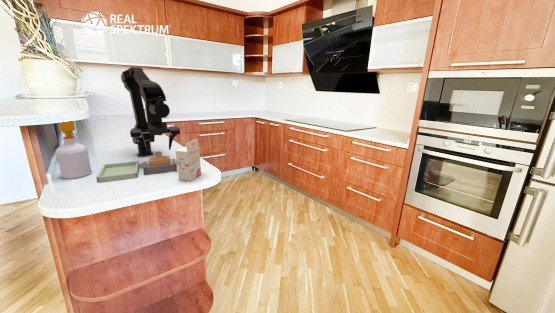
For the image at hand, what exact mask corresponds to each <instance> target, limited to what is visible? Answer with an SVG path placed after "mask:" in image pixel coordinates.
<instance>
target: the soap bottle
mask: <svg viewBox="0 0 555 313" xmlns="http://www.w3.org/2000/svg"><path fill="white" fill-rule="evenodd" d="M58 125H59V129H58V130H59V132H60V133H62V134H64V136H63V137H62V138H63V139H62V140H63V144H61V145H59V146H58V148H56V150H55V154H56V159H57V163H58V166H59V170H60V175H61V178H63V179H67V180H68V179H69V180H73V179H80V178H84V177H86V176H89V175H90V174H92V171H93V170H92V166H91V162H90V158H89V151H88V148H87V147H86V145H83V144H81V143H78V142H77V140H76V137H75V136H74V135H72V133H73V131H76V127H75V123H74V120H73V121H69V122H62V123H59V122H58Z"/></svg>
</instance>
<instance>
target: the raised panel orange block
mask: <svg viewBox="0 0 555 313" xmlns="http://www.w3.org/2000/svg"><path fill="white" fill-rule="evenodd" d="M171 162H172V161H171V156H170V155H163V151H162V150H161V151H155V152H154V156H151V157H148V161H147V163H148V166H157V165H167V164H172V163H171Z"/></svg>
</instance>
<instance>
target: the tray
mask: <svg viewBox="0 0 555 313" xmlns="http://www.w3.org/2000/svg"><path fill="white" fill-rule="evenodd" d="M139 169H140V162H139V160H136V161H135V160H134V161H125V162H116V163H115V162H114V163H106V164H105V163H104V164H103V165H102V166H101V168H100V170H99V172H98V174H97V176H96V183H98V184H99V183H106V182H115V181H123V180H129V179H137V178H138V176H139Z"/></svg>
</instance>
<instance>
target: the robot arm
mask: <svg viewBox="0 0 555 313" xmlns="http://www.w3.org/2000/svg"><path fill="white" fill-rule="evenodd" d="M120 80H121V83H123V86H124V88H125V90H127V91H128V92H129V96H130V100H131V105H132V109H133V114H134V119H135V124H134V127H133V128H131V129H130V131H129V132H130V133H129V134H130V138H131V140H132V143H133V144H135V145H137V150H138V152H137V157H146V156H153V154H154V152H153V150H152V144H151V143H155V138H156V136H163V135H164V134H168V150H169V151H170V150H171V149H172V144H173V141H174V139H175V137H178V135H181V130H180V127H179V126H177V125H176V126H175V125H174V126H169V128H168V123H167V122H163V119H164V118H167V117H168V116H169V114H170V110H171V109H170V107H169V106H168V104H166V103H165V102H166V101H167V96H166V94H165V92H164V91H163V88H162V87H161V85H160V84H159V83H158V82H156V81H152V80H151V79H150V78H149V77H148V76H147V74H146V73H145V72H144V68H142V67H140V66H139V67H137V66H131V67H129V68H128V69H126V70H124V71H122V73H121V75H120ZM143 102H144V103H143ZM144 105H145V108H144Z"/></svg>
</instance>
